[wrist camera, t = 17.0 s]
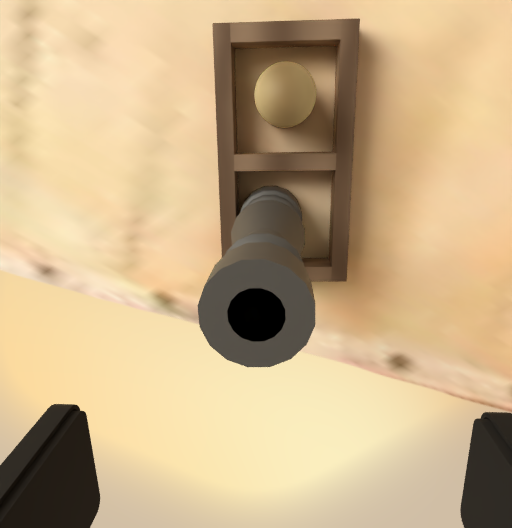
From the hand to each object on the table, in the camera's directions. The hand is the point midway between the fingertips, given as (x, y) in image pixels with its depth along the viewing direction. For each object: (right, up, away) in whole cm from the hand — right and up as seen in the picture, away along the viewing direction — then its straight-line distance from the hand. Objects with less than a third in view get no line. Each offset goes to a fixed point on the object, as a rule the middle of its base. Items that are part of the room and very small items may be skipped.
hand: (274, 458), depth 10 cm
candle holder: (+1, +10, +34) cm, 36 cm away
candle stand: (+2, +15, +32) cm, 36 cm away
